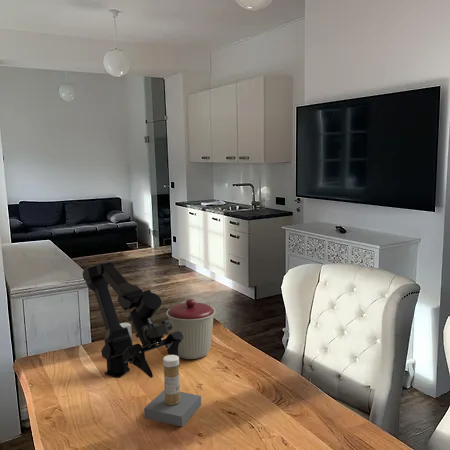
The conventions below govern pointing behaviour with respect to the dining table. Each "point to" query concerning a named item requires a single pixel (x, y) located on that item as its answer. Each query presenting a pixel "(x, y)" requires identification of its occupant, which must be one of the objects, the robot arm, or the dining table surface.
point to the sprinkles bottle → (171, 379)
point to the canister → (192, 327)
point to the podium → (172, 409)
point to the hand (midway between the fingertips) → (165, 372)
